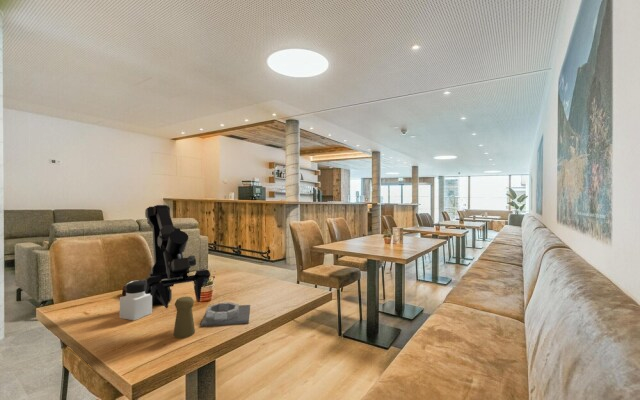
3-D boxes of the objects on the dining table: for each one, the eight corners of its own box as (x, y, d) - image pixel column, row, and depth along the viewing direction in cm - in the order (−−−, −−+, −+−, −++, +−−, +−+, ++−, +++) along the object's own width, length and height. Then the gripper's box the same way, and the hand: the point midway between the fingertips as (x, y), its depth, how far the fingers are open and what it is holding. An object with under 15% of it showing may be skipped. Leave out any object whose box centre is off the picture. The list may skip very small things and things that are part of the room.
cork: (177, 329, 95) (178, 294, 95) (197, 329, 95) (197, 294, 95) (169, 338, 89) (170, 301, 89) (191, 337, 89) (191, 300, 89)
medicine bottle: (152, 313, 108) (152, 280, 108) (134, 321, 101) (134, 285, 101) (137, 311, 110) (137, 278, 110) (118, 318, 103) (119, 283, 104)
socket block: (201, 326, 97) (201, 315, 97) (208, 309, 112) (208, 300, 112) (248, 323, 100) (248, 312, 100) (250, 307, 115) (250, 298, 115)
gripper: (146, 250, 91) (153, 296, 83) (208, 245, 103) (220, 284, 94) (142, 271, 97) (147, 316, 89) (201, 264, 109) (211, 303, 100)
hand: (183, 304), depth 93 cm, fingers open, 9 cm apart
